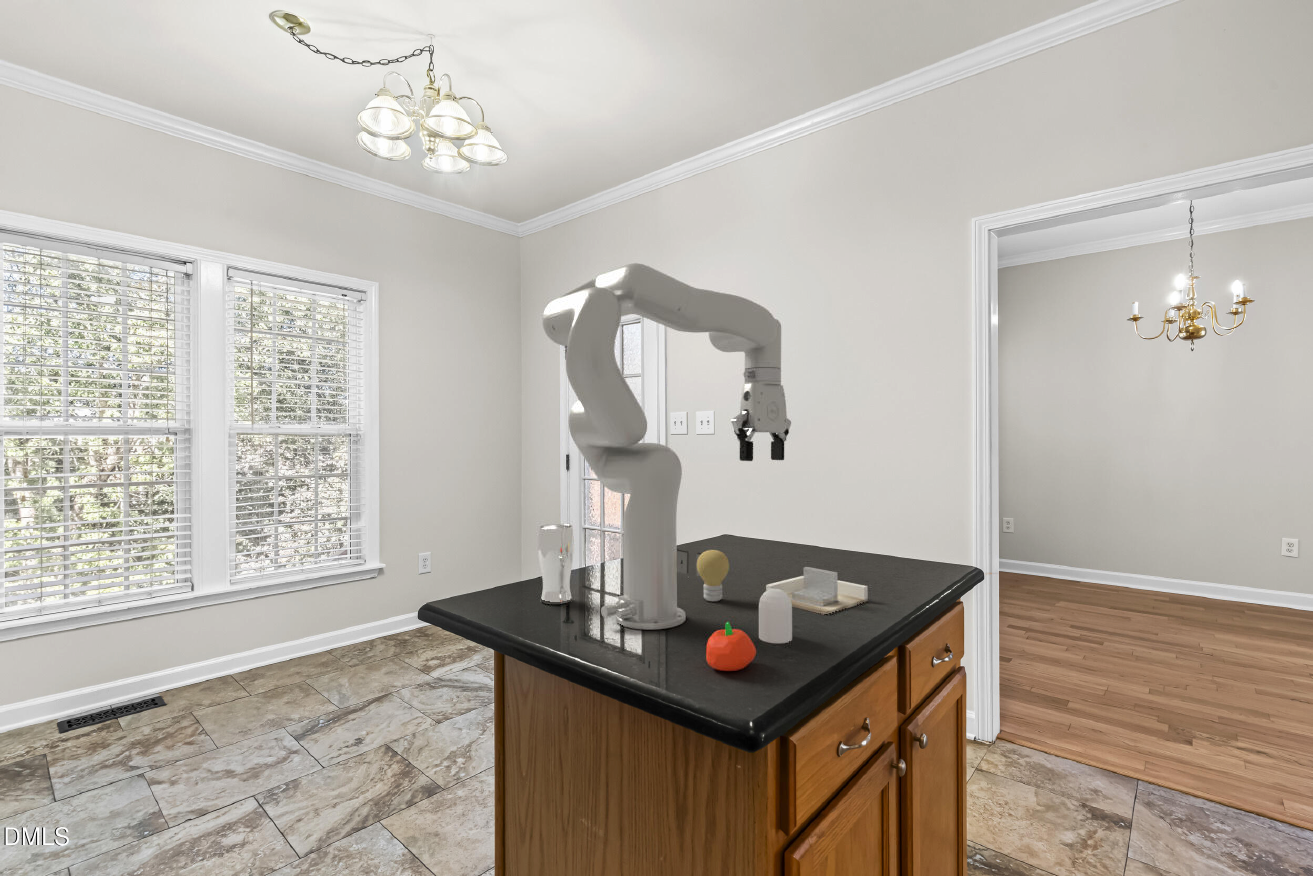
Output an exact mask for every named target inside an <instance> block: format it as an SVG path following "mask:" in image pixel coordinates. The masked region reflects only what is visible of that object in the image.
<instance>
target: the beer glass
mask: <svg viewBox="0 0 1313 876" xmlns="http://www.w3.org/2000/svg"><path fill="white" fill-rule="evenodd" d="M538 529H539V532H538V542H537V543H538V546H537V547H538V548H537V551H538V560H539V566H540V571H541V578H542V593H541V599H542V600H545V601H550V602H562V601H567V600H570V599H571V598H572V593H571V589H570V588H571V586H570V585H571V584H570V583H571V582H570V581H571V573H572V567H573V561H574V553H575V552H574V551H575V547H574V532H573V531H574V530H573V525H571V524H566V523H551V524H544V525H540V526H539V528H538ZM541 599H540V600H541Z"/></svg>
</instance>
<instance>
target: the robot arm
mask: <svg viewBox="0 0 1313 876" xmlns="http://www.w3.org/2000/svg"><path fill="white" fill-rule="evenodd" d="M629 315H635V316H640V317H642V318H644V319H647V320H650V321H652V322H654V323H657V324H660V325H662V326H665V327H667V328H670V329H671V330H674V331H676V332H682V333H683V332H684V333H699V334H700V333H708V339H709V341H710V344H711V345H712V346H713V348H714V349H717V350H719V351H721V352H723V353H736V352H737V353H741V352H743V353H744V372H743V374H742V375H743V377H744V384H743V386H742V391H741V399H740V407H739V409H740V410H739V414H738V415H736V416H735V417H733V418H732V419H731V425H732V428H733V431H734V432H733V433H734V434H735V436H736V440H737V442H739V461H740V462H741V461H742V462H752V461H754V441H751V440H752V439H753V437H754V435H755V433H769V435H770V437H771V439H772V441H770V459H771V460H772V461H784V460H785V442H786V441H787V436H788V435H789V433H790V428H791V426H792V421H791V419H789V418H788V416H787V414H788V413H787V403H786V402H787V401H786V395H785V393H786V392H785V389H784V386H783V385H782V325H781V322H780V320H778V319H776V318H775V316H773V314H772V313H771V312H770V310H768V309H767V308H765V307H764V306H762V305H760V304H759V303H757V302H754V301H752V300H751V299H748V298H746V297H742V296H739V295H734V294H730V293H725V292H720V291H714V290H709V289H702V288H698V287H697V288H696V287H694V286H691V285H689V284H687V283H685V282H682V281H680V280H679V279H676V278H674V277H672V276H670V275H668V274H666V273H664V272H661V271H659V270H657V269H655V268H653V267H651V266H650V265H646V264H643V263H638V262H636V263H628V264H626V265H622V266H620V267H617V268H614V269H611V270H609V271H606V272H603V273H601V274H599V275H598V276H596V277H594V278H592V279H591V280H589V281H587V282H586V283H584V284H582V285H579V286H578V287H576V288H574V289H572V290H570V291H568V292H567V293H564V294H563V295H561V296H559V297H557V298H555V299H554V300H552V301H550V303H549V304H548V305H547V306H546V308H545V309H544V312H543V314H542V326H543V327H542V328H543V330H544V333H545V334H546V336H547V337H548V338H549V339H550V340H551V342H553V343H555V344H557V345H559V346H564V347H565V346H566V351H565V352H566V353H565V372H566V376H567V378H568V379H567V380H568V382H569V384H570V386H571V388H572V390H573V391H574V394H575V395H576V398H577V399H578V400H577V401H575V403H574V404H573V406H572V407H571V409H570V411H569V415H568V428H569V432H570V435H571V438H572V440H573V442H574V444H575V446H576V447H577V449H578V450H579V452H580V453H581V455H582V456H583V458H584V460H585V462H587V464H588V465H589V467H590V469H591V471H592V472H593V473H594V475H595V476H596V478H597V479H598V481H599V482H600V484H602V486H604V487H605V488H606V489H608V490H609V491H611V492H613V493H614V492H615V493H618V494H624V495H625V494H626V495H630V496H629V498H628V501H627V504H626V507H625V511H624V513H623V514H624V515H623V524H622V533H623V535H622V537H623V539H622V541H623V545H622V546H623V553H622V554H623V555H622V556H623V595H619V596H618V601H616V602H615V603H614V604H607V605H604V606H602V607H601V609H600V613H601V616H602V617H603V618H610V617H612V616H614V620H615V622H616V623H617V624H618V623H619V625H620V624H621V625H620V626H622V625H623V626H622V627H625V628H629V629H635V630H651V631H652V630H653V631H654V630H663V629H669V628H674V627H677V626H679V625H680V626H681V625H682V624H683V623H684V622H685V621H686V612H685V611H684V610H683V609H682V608H680V607H678V595H677V594H678V593H677V592H678V591H677V589H678V586H677V583H678V581H677V580H678V579H677V575H678V573H677V568H678V567H677V561H678V560H677V555H678V553H677V551H678V550H677V549H678V548H677V546H678V545H677V511H678V510H677V509H678V499H679V492H680V488H681V483H682V477H683V476H682V475H683V473H682V472H683V471H682V470H683V468H682V467H683V466H682V462H681V460H680V457H679V456H678V454H677V453H676V452H675V451H674V450H673V449H671V448H670V447H669V446H667V445H665V444H661V443H657V442H641V441H642V440H643V438H645V437H646V435H647V432H648V431H647V430H648V421H647V415H646V414H645V412H644V410H643V408H642V406H641V405H640V403H639V401H638V399H637V398H636V396H635V394H634V392H633V391H632V389H631V388H630V385H629V384H628V382H627V381H626V380H627V379H626V378H625V377H624V375H623V373H622V371H621V369H620V366H619V365H618V362H617V359H616V354H615V351H616V350H615V347H616V346H615V345H616V339H617V335H618V331H619V328H620V325H621V320H622V317H626V316H629Z"/></svg>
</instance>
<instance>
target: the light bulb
mask: <svg viewBox="0 0 1313 876" xmlns="http://www.w3.org/2000/svg"><path fill="white" fill-rule="evenodd" d="M696 569H697V573H698V575H699V577H701V579H702V580H703V582H704V584H703V599H705V600H706V601H708V602H719V601H720V600H721V599H723V584H722V582H723V581H724V579H725V578H726V577H727V575H728V572H729V569H730V564H729V559H728V557H727V556H726V554H725V553H723V552H722V551H720V550H718V549H717V550H716V549H709V550H706V551H703V552H702V553H701V554H699V556H698V558H697V561H696Z"/></svg>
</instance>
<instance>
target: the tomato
mask: <svg viewBox="0 0 1313 876" xmlns="http://www.w3.org/2000/svg"><path fill="white" fill-rule="evenodd" d="M724 626H725V627H724V628H725V629H719V630H716V631H714V632H713V633H711V636H709V638H708V640H707V642H706V644H705V645H706V647H705V652H704V653H705V655H706V656H705V657H706V658H705V659H706V662H707V664H708V665H709V667H711V668H713V669H714V670H718V671H725V672H734V671H735V672H737V671H739V670H742V669H744V668H745V667H747V666H748V665H749V664H750V663H751V662H752V661H753V660H754V659H755V656H756V654H757V649H756V647H755V644H754V642H753V641H752V639H751V638H750V636H749V635H748V634H747V633H746V632H744V631H743V630H741V629H737V628H732V626H731V624H730V622H729V621H727V622H726V623H725V625H724Z"/></svg>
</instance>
